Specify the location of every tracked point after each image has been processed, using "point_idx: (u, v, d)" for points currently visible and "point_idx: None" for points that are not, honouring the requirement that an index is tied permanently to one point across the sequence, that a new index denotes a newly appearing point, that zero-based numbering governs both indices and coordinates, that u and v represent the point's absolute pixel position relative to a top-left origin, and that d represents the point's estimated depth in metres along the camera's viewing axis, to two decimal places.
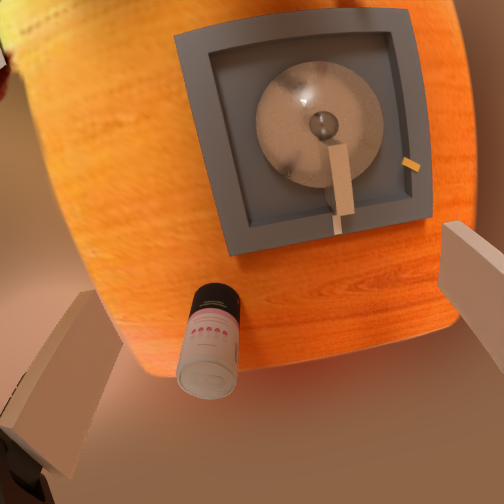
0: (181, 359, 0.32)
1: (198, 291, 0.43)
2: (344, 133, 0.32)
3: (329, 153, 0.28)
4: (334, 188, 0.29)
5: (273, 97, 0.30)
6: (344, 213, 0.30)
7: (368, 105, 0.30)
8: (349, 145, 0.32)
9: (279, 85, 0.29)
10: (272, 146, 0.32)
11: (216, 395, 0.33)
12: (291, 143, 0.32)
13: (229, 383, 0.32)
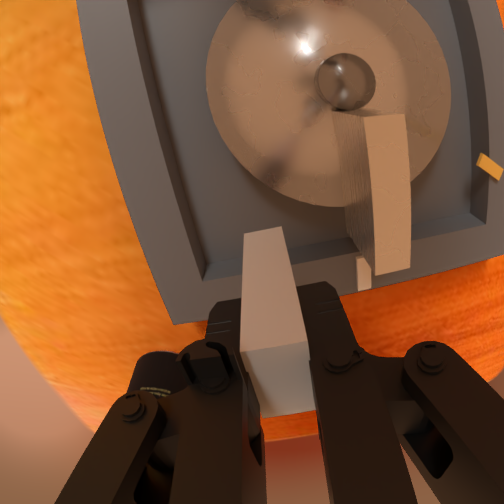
0: None
1: (139, 362, 0.26)
2: (385, 102, 0.15)
3: (366, 135, 0.11)
4: (374, 216, 0.13)
5: (240, 28, 0.13)
6: (390, 269, 0.14)
7: (425, 53, 0.13)
8: None
9: (253, 6, 0.13)
10: (241, 125, 0.16)
11: None
12: (279, 118, 0.15)
13: None
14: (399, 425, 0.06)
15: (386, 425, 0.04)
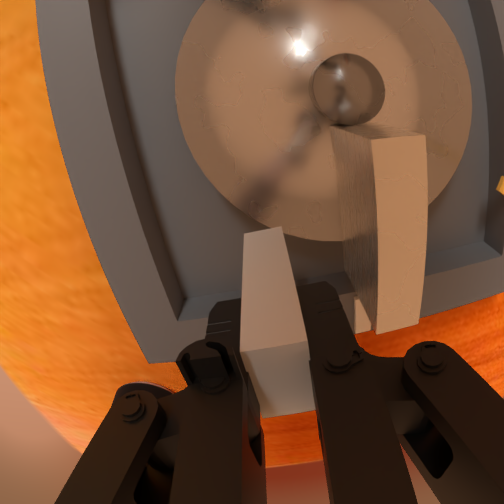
0: None
1: (118, 393, 0.23)
2: (395, 115, 0.12)
3: (374, 163, 0.08)
4: (379, 268, 0.10)
5: (217, 23, 0.10)
6: (394, 326, 0.11)
7: (443, 56, 0.11)
8: None
9: None
10: (217, 143, 0.13)
11: None
12: (264, 134, 0.13)
13: None
14: (399, 425, 0.06)
15: (386, 425, 0.04)
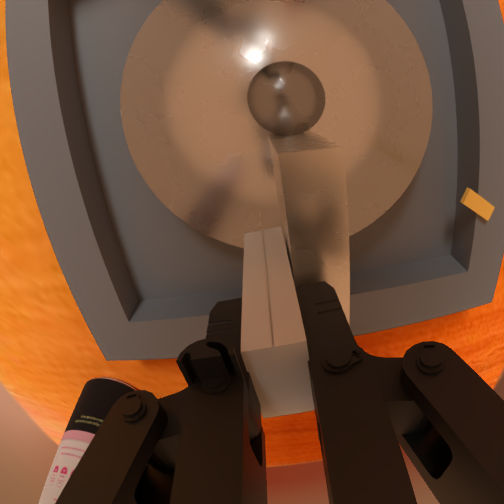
0: None
1: (85, 387, 0.23)
2: (341, 123, 0.12)
3: (283, 179, 0.09)
4: (296, 285, 0.10)
5: (160, 37, 0.11)
6: None
7: (400, 60, 0.11)
8: (352, 153, 0.13)
9: (177, 9, 0.10)
10: (158, 154, 0.13)
11: None
12: (203, 145, 0.13)
13: None
14: (399, 425, 0.06)
15: (385, 425, 0.04)
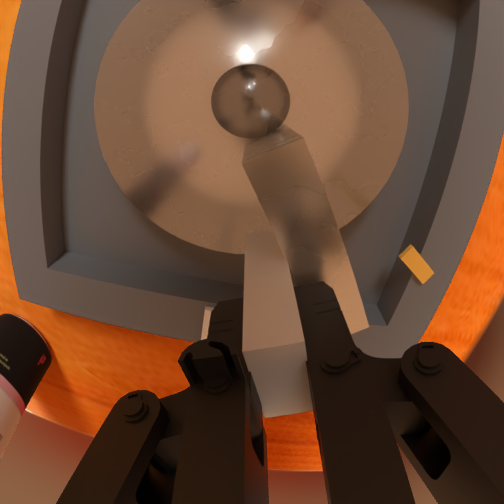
0: None
1: None
2: (314, 109, 0.12)
3: (254, 185, 0.09)
4: (298, 283, 0.10)
5: (118, 77, 0.11)
6: None
7: (355, 28, 0.10)
8: (333, 135, 0.13)
9: (125, 46, 0.11)
10: (149, 187, 0.14)
11: None
12: (187, 167, 0.13)
13: None
14: (397, 426, 0.06)
15: (383, 426, 0.04)
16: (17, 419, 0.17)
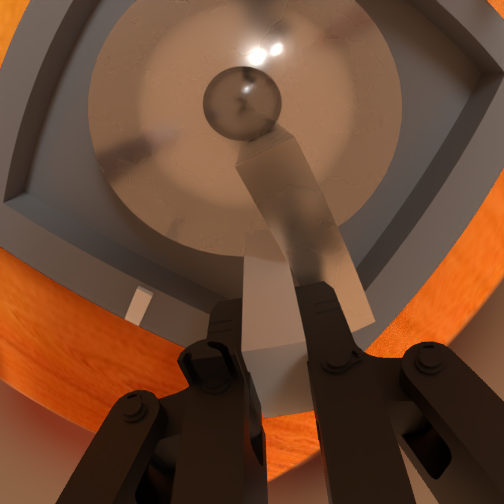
0: None
1: None
2: (306, 106, 0.12)
3: (249, 188, 0.09)
4: (301, 282, 0.10)
5: (110, 89, 0.12)
6: None
7: (341, 22, 0.10)
8: (328, 131, 0.13)
9: (114, 58, 0.11)
10: (148, 195, 0.14)
11: None
12: (184, 174, 0.13)
13: None
14: (398, 425, 0.06)
15: (384, 425, 0.04)
16: None
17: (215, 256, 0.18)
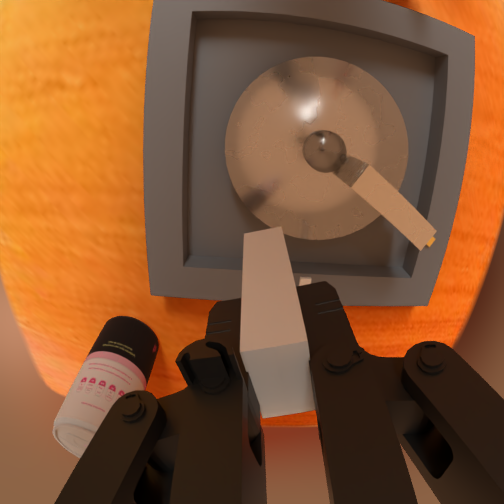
0: (60, 413, 0.19)
1: (109, 322, 0.31)
2: (354, 138, 0.21)
3: (359, 194, 0.18)
4: (395, 226, 0.19)
5: (243, 169, 0.23)
6: (426, 241, 0.19)
7: (350, 81, 0.20)
8: (370, 145, 0.22)
9: (237, 150, 0.22)
10: (291, 220, 0.24)
11: None
12: (307, 200, 0.23)
13: None
14: (399, 425, 0.06)
15: (386, 425, 0.04)
16: None
17: (334, 241, 0.27)
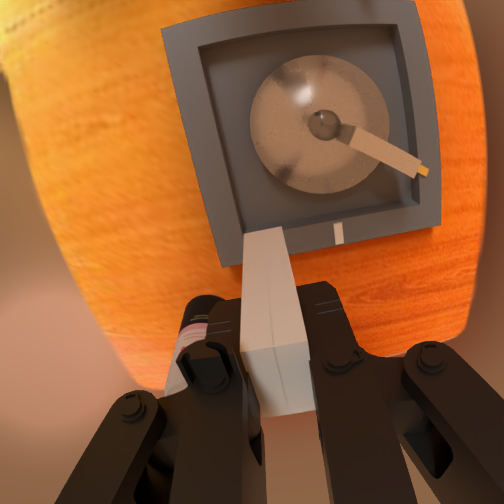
0: (169, 379, 0.29)
1: (189, 303, 0.40)
2: (344, 109, 0.28)
3: (356, 148, 0.25)
4: (389, 164, 0.25)
5: (270, 153, 0.30)
6: (415, 170, 0.25)
7: (329, 68, 0.26)
8: (357, 112, 0.28)
9: (261, 140, 0.29)
10: (314, 181, 0.31)
11: None
12: (322, 163, 0.30)
13: None
14: (399, 425, 0.06)
15: (386, 425, 0.04)
16: None
17: (352, 190, 0.34)
